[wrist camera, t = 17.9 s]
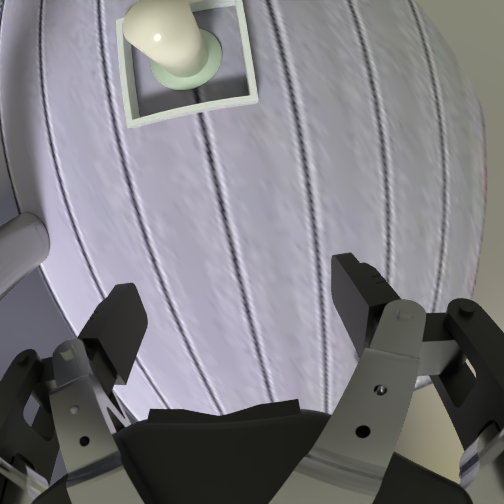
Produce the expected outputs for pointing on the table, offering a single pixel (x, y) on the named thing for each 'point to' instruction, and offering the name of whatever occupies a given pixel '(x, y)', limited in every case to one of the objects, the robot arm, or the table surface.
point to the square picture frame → (197, 2)
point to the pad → (199, 78)
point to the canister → (167, 35)
